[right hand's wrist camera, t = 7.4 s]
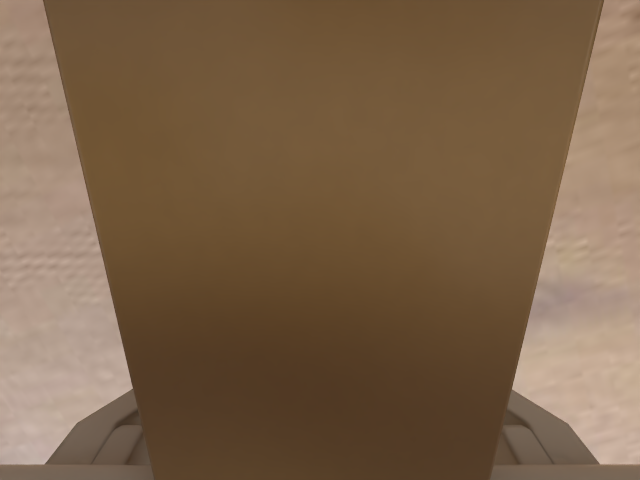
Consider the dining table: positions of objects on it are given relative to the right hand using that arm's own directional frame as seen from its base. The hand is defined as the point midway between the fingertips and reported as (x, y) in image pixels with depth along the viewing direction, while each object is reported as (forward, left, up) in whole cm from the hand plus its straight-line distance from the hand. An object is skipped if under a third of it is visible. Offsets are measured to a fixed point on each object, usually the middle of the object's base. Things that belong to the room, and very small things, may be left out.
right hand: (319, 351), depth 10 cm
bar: (+4, +7, -4) cm, 9 cm away
